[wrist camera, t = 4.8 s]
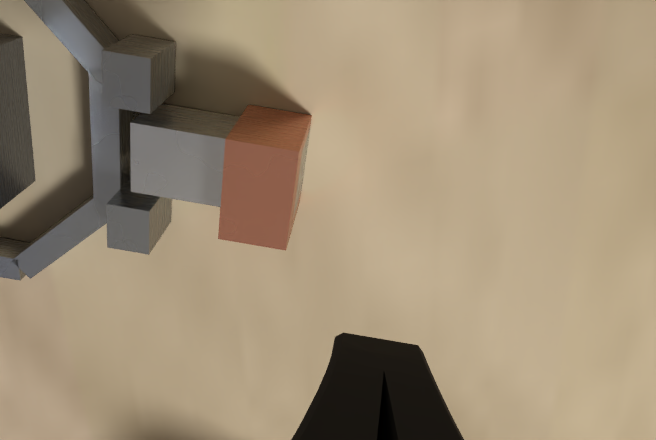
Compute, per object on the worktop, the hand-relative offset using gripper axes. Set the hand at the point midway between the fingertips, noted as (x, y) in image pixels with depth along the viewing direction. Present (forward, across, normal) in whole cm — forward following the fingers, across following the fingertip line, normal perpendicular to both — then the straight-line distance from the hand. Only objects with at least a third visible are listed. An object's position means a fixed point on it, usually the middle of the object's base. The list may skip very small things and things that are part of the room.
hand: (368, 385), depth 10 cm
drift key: (+9, +4, 0) cm, 10 cm away
